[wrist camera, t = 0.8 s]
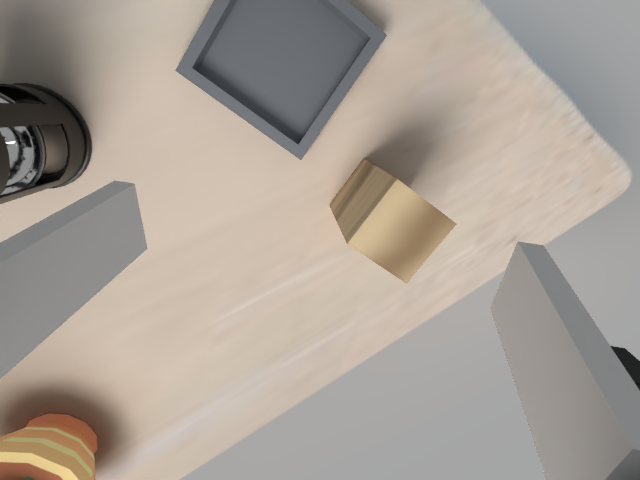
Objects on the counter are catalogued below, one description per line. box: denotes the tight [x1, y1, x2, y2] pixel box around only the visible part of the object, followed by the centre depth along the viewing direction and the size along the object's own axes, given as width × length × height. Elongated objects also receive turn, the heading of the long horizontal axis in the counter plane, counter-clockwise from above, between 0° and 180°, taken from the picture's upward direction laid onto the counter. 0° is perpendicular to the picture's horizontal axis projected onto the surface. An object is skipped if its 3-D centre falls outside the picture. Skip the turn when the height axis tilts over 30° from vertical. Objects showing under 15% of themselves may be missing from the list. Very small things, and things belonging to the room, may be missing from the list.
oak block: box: [329, 159, 456, 283], centre depth 33 cm, size 6×6×12 cm
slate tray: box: [175, 0, 387, 160], centre depth 32 cm, size 13×13×2 cm
